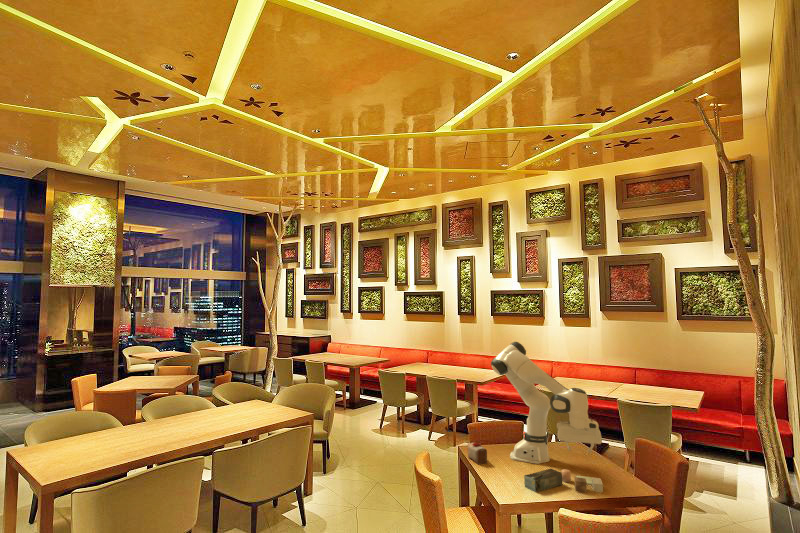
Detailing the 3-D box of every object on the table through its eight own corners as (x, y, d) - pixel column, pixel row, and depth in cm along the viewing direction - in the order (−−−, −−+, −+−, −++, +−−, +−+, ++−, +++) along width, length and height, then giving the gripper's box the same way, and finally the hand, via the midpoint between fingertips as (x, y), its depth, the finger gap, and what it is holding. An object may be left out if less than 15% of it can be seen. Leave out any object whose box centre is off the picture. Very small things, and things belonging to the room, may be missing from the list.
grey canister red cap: (465, 457, 265) (465, 440, 266) (477, 455, 268) (477, 438, 269) (477, 465, 253) (477, 447, 253) (489, 463, 255) (489, 445, 256)
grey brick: (603, 493, 217) (602, 484, 217) (594, 492, 218) (593, 483, 218) (600, 486, 224) (600, 478, 225) (592, 485, 226) (591, 477, 226)
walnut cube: (575, 491, 218) (575, 480, 218) (574, 487, 223) (574, 477, 223) (586, 492, 217) (586, 482, 217) (585, 488, 221) (585, 478, 222)
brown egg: (561, 482, 230) (561, 471, 230) (561, 478, 234) (561, 468, 234) (571, 483, 228) (570, 472, 229) (570, 479, 233) (570, 469, 233)
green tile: (577, 483, 228) (577, 481, 228) (576, 476, 237) (576, 475, 237) (597, 485, 226) (597, 484, 226) (594, 478, 234) (594, 477, 234)
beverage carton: (523, 487, 223) (523, 473, 224) (550, 480, 232) (550, 467, 233) (535, 493, 216) (535, 478, 217) (563, 485, 226) (563, 472, 226)
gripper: (556, 422, 222) (557, 451, 221) (602, 425, 216) (602, 455, 215) (556, 419, 228) (556, 447, 227) (600, 422, 222) (601, 451, 221)
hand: (579, 451), depth 221 cm, fingers open, 8 cm apart
